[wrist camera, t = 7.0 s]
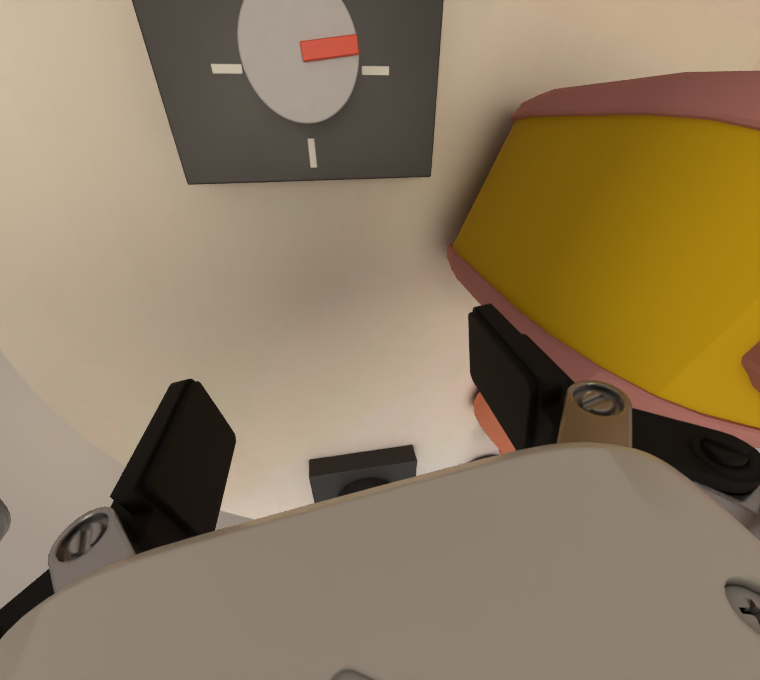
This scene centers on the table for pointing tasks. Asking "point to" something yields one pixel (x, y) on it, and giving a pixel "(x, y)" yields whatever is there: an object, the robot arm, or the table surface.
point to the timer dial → (299, 55)
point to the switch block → (360, 471)
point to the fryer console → (275, 133)
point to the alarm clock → (632, 240)
